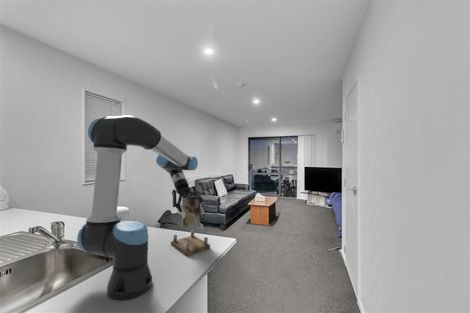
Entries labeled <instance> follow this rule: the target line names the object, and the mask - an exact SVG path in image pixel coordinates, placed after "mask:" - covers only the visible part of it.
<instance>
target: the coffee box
mask: <svg viewBox="0 0 470 313" xmlns="http://www.w3.org/2000/svg"><path fill="white" fill-rule="evenodd" d="M199 195H200V194H199ZM199 195H192V196H182V199H181V203H182V204H181V205H182V207H183V209H184V212H185V214H186V216H185V218H182V220H181V221H182V222H181V223H182V229H190V228H191V229H192V228H201V214H200V197H199Z"/></svg>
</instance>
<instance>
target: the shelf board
mask: <svg viewBox="0 0 470 313" xmlns="http://www.w3.org/2000/svg"><path fill="white" fill-rule="evenodd" d="M172 237H173V240H171V241H170V246H171V247H173V248H174V247H175V248H174V249H176V250H177V251H178V250H179V251H178V252H180V253H181V254H182V255H183V256H185V257H188V256H191V255H195V254H197V253H201V252H204V251H207V250H210V249H211V244H209V243H208V239H209V238H208V237H204V238H203V239H204V240H203V239H200V238H199V237H197V236H195V230H190V236H186V237H183V238H178V234H173V236H172Z"/></svg>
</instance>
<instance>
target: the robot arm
mask: <svg viewBox="0 0 470 313" xmlns="http://www.w3.org/2000/svg"><path fill="white" fill-rule="evenodd" d="M87 135H88V138H89V139H90V142H91V143H92V144H93V150H94V151H95V152H96V153H97V154H96V156H97V157H96V167H95V178H94V187H93V196H92V197H93V199H92V208H91V215H90V216H88V217H87V218H86V222H85V224H83V225H82V226H81V229H79V231H78V233H77V236H76V237H77V239H76V241H77V246H78V247H79V249H80V250H81V251H82V252H85V253H88V254H89V255H95V256H96V255H97V256H102V257H108V258H112V271H111V274H110V277H109V280H108V283H107V286H106V294H107V297H109V298H110V299H112V300H116V301H122V300H123V301H124V300H125V301H126V300H131V299H134V298H137V297H139V296H141V295H143V294H145V293H146V292H147V291H149V290H150V289H151V287H152V285H153V274H152V272H151V269H150V266H149V262H148V256H149V255H148V254H149V252H148V251H149V249H148V248H149V234H148V232H149V230H148V226H147V225H146V224H145V223H143V222H141V221H137V220H129V221H123V222H120V220H121V217H120V216H119V215H118V214H117V207H119V206H118V204H119V193H120V181H121V173H122V172H121V169H122V158H123V155H124V154H125V153H126V152H127V150H128V148H127V147H128V146H136V147H141V148H143V149H144V150H146V151H147V150H149V151H150V150H151V151H153V152H154V153H156V154H157V155H158V156H156V160H155V162H156V165H158V166H159V167H160V168H161V169H162V170H164V171H166V172H167V173H168V174H169V176H170V178H171V181H172V183H173V185H174V189H173V190H172V191H171V195H172V208H175V209H177V211H178V212H179V213H180V215H181V217H182V218H185V216H186V214H185V212H184V209H183V207H182V204H181V203H182V196H192V195H199V197H200V216H202V215H203V214H204V213H205V211H204V206H203V201H204V199H203V197H202V196H201V194H200V193H198V191H197V190H196V187H192V188H190V185H189V183H188V181H187V177H186V176H185V173H184V171H188V172H189V171H196V170H197V168H198V164H199V163H198V159H197V157H196V156H192V155H191V156H189V155H188V154H186V153H185V152H183V150H181V149H179V147H177V146H176V145H174V143H172V142H170V141H169V140H168V139H166V138H165V136H163V135H162V134H161V132H160V130H158V128H156V127H155V126H154V125H152V124H150V123H149V122H147V121H145V120H143V119H141V118H139V117H136V116H132V115H119V116H118V115H115V116H113V115H112V116H110V115H105V116H102V117H98V118H95V119H93V121H92V122H90V123H89V126H88V129H87ZM177 195H178V199H177Z"/></svg>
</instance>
